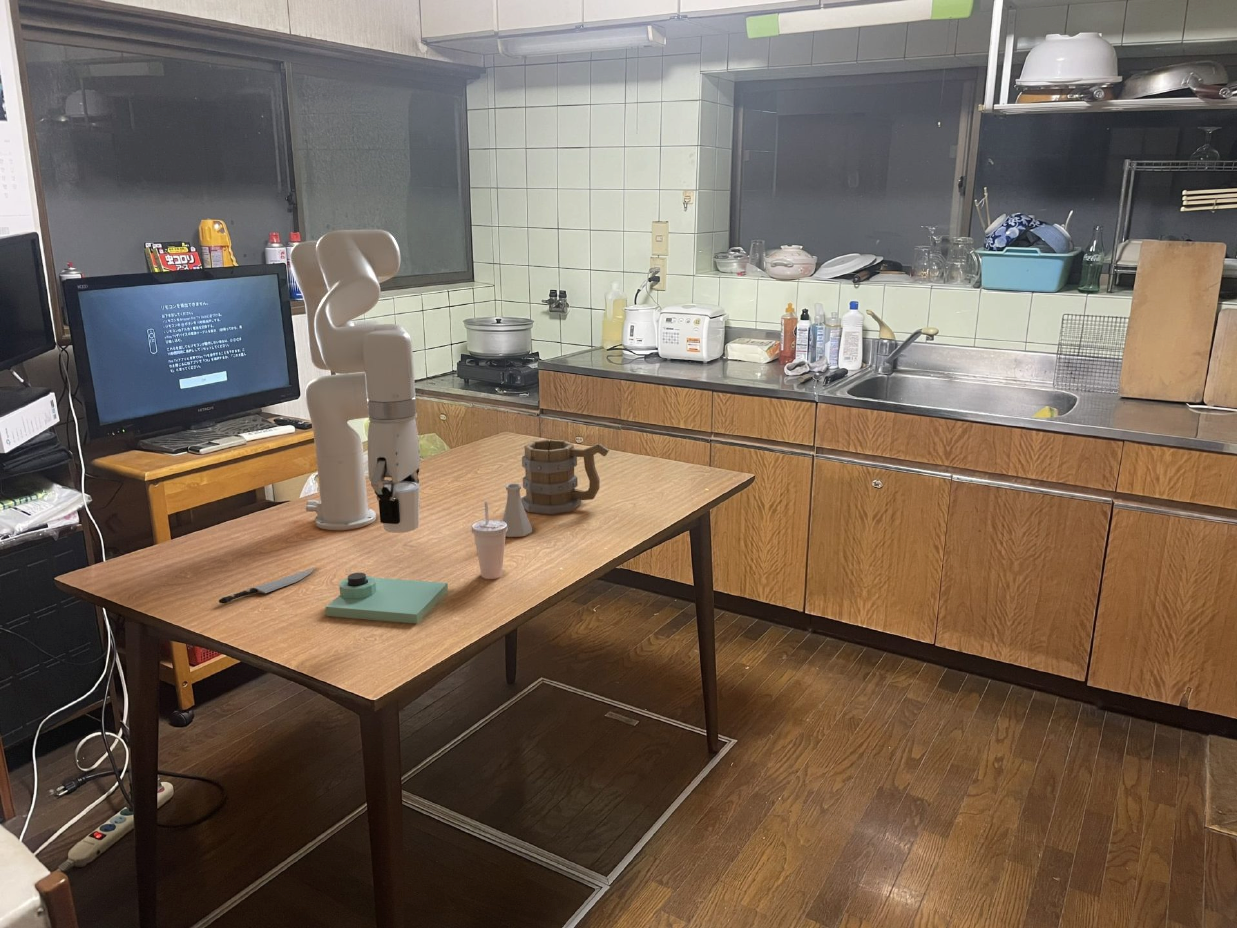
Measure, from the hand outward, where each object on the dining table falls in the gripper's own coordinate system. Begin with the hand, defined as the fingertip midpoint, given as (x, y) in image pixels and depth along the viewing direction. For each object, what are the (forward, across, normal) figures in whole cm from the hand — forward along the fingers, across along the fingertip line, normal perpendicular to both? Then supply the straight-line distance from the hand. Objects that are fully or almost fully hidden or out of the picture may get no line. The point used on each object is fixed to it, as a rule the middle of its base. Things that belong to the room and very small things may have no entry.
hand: (400, 514), depth 150 cm
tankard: (+16, -56, +13) cm, 59 cm away
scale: (+16, 0, -3) cm, 16 cm away
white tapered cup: (+2, 0, 0) cm, 2 cm away
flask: (+16, -38, +7) cm, 42 cm away
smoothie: (+16, -15, +10) cm, 24 cm away
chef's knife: (+16, -2, -26) cm, 31 cm away
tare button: (+13, 0, -9) cm, 16 cm away
